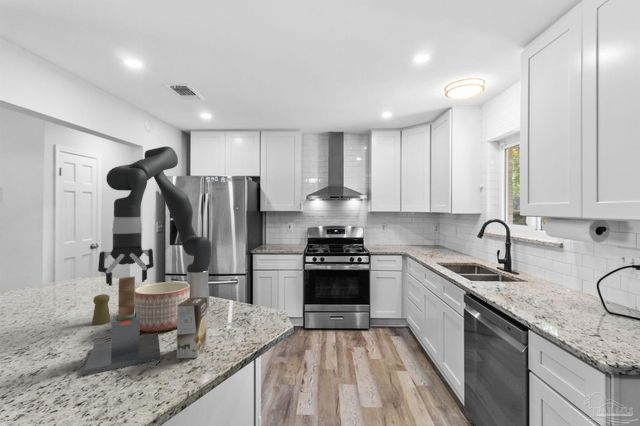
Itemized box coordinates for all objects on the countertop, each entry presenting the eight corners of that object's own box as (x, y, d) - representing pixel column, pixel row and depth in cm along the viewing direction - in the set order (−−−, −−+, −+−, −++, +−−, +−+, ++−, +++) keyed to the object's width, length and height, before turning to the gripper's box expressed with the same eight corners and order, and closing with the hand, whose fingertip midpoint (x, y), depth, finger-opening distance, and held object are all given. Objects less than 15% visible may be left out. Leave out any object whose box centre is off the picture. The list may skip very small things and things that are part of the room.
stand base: (158, 336, 102) (158, 304, 102) (160, 358, 86) (160, 320, 87) (94, 348, 92) (94, 313, 92) (84, 375, 77) (84, 333, 77)
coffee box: (197, 358, 87) (198, 305, 87) (176, 359, 86) (176, 305, 86) (207, 344, 96) (207, 296, 96) (187, 345, 95) (188, 297, 96)
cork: (100, 325, 111) (100, 297, 111) (87, 324, 112) (88, 296, 113) (114, 320, 117) (114, 293, 117) (102, 319, 118) (102, 292, 119)
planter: (199, 319, 119) (200, 283, 119) (160, 338, 101) (160, 296, 101) (164, 313, 125) (164, 280, 125) (121, 330, 107) (122, 291, 107)
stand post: (134, 325, 92) (135, 276, 93) (134, 330, 89) (135, 278, 89) (118, 328, 90) (119, 277, 90) (117, 333, 86) (118, 280, 87)
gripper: (153, 230, 96) (153, 278, 96) (100, 231, 89) (100, 283, 89) (154, 231, 90) (153, 283, 90) (97, 233, 83) (96, 289, 83)
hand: (127, 283), depth 89 cm, fingers open, 8 cm apart
